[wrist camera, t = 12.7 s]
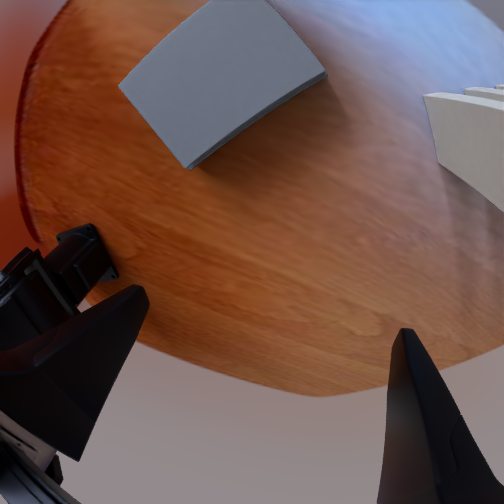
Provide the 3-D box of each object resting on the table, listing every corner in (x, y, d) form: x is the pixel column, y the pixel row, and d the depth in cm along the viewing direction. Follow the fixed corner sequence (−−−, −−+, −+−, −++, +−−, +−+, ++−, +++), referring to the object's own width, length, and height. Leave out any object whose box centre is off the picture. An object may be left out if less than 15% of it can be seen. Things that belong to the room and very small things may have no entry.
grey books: (196, 166, 19) (182, 177, 17) (132, 88, 17) (112, 90, 14) (326, 76, 15) (330, 74, 12) (250, -10, 12) (243, -23, 10)
